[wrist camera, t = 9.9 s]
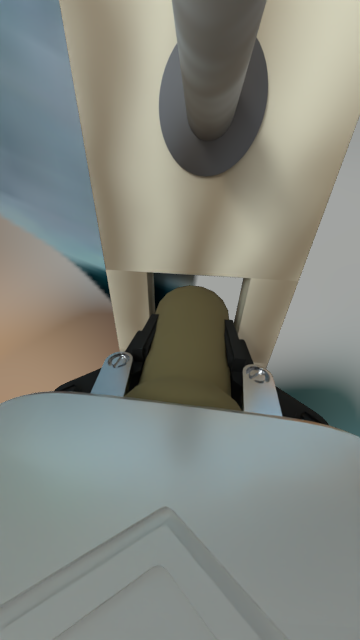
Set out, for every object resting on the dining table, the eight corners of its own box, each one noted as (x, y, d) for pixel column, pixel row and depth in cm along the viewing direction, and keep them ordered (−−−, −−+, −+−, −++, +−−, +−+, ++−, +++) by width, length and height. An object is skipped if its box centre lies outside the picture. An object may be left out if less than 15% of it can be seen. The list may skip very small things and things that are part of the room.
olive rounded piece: (213, 357, 15) (235, 572, 6) (150, 340, 15) (62, 530, 6) (241, 297, 12) (380, 531, 3) (163, 275, 12) (28, 441, 3)
